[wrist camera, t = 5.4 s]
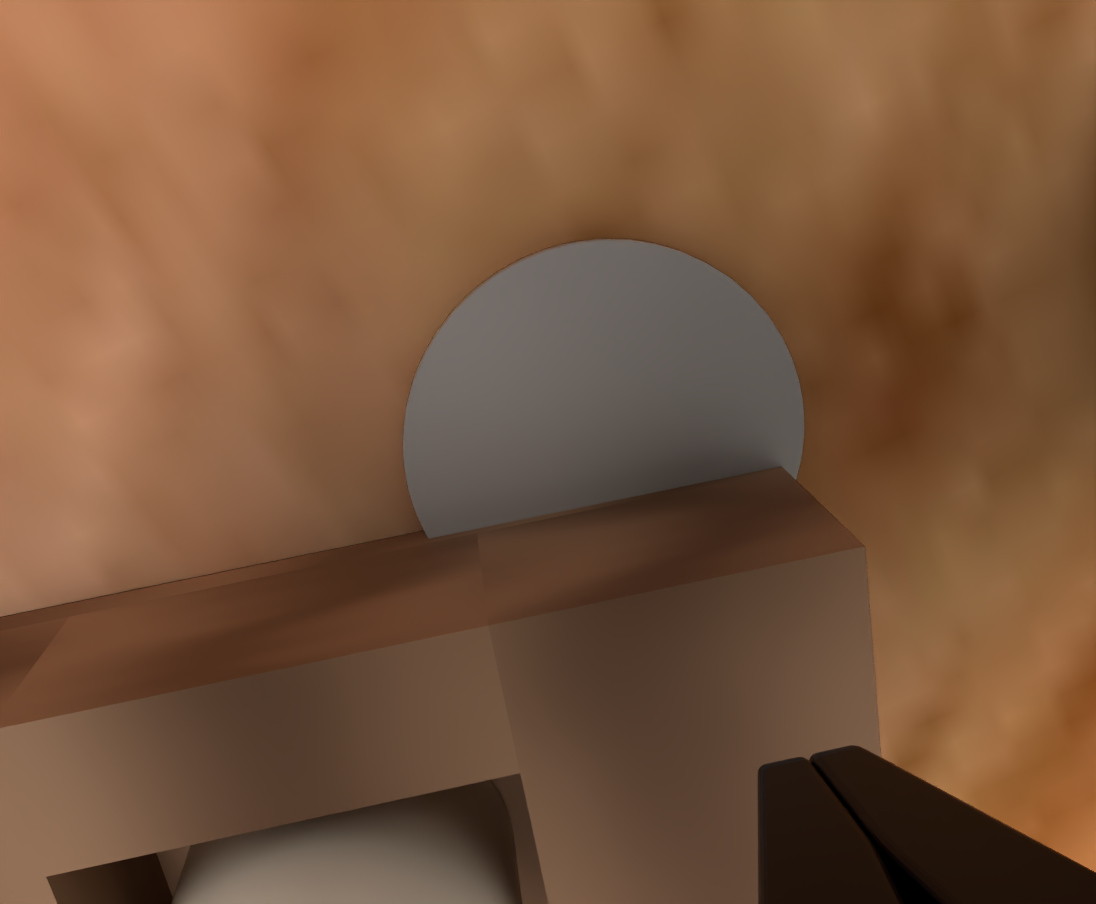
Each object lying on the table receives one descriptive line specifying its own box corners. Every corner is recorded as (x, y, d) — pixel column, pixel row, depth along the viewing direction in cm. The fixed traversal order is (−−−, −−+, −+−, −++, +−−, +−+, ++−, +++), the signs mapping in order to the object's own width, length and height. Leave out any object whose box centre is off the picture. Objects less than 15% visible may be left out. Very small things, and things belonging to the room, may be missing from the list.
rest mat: (776, 202, 17) (785, 204, 16) (812, 576, 19) (820, 586, 19) (361, 281, 16) (360, 285, 16) (448, 653, 19) (449, 664, 18)
